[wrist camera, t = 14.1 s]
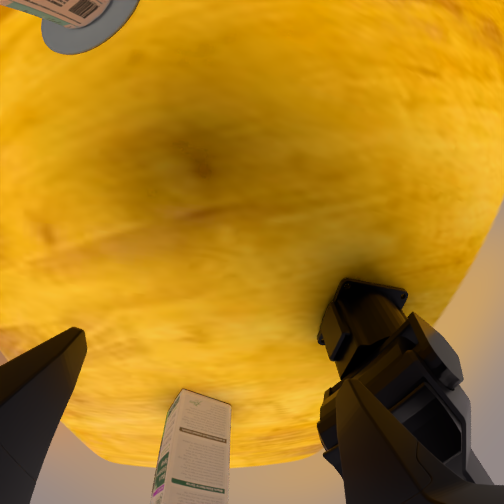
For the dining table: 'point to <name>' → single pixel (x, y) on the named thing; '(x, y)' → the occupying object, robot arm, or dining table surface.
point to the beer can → (61, 10)
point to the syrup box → (194, 452)
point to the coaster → (88, 29)
